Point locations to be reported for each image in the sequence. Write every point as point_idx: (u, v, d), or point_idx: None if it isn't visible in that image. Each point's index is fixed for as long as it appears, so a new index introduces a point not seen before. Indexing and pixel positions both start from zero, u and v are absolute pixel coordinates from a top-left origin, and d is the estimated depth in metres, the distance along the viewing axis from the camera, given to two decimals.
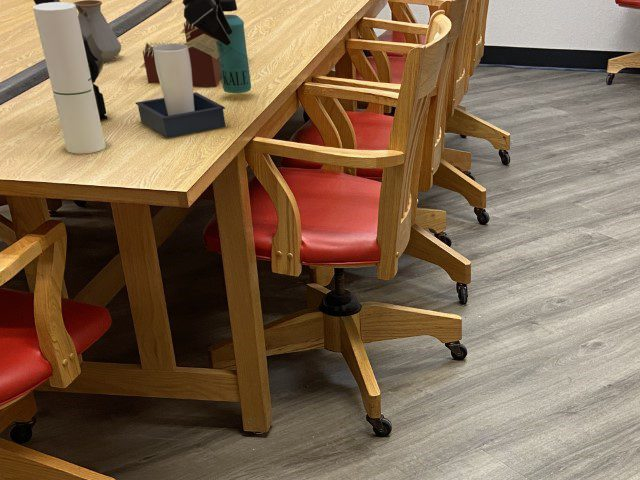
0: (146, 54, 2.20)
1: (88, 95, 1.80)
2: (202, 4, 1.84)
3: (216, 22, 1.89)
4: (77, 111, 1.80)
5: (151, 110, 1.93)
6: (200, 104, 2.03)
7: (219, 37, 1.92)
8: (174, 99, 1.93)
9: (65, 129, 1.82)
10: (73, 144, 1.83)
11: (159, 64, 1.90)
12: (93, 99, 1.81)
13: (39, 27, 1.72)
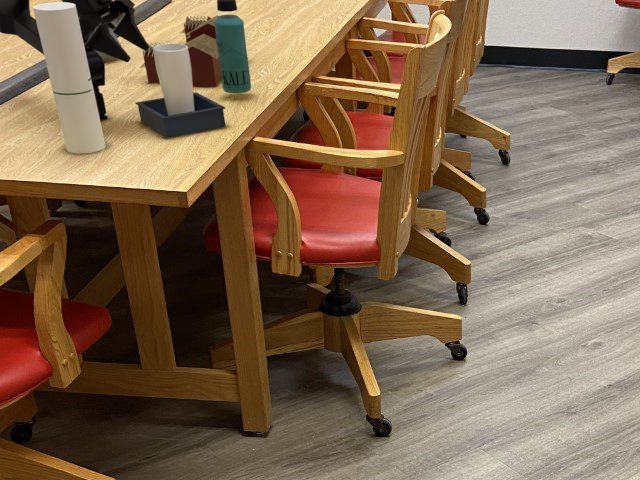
0: (146, 54, 2.20)
1: (88, 95, 1.80)
2: (83, 24, 1.81)
3: (108, 40, 1.85)
4: (77, 111, 1.80)
5: (151, 110, 1.93)
6: (200, 104, 2.03)
7: (116, 55, 1.87)
8: (174, 99, 1.93)
9: (65, 129, 1.82)
10: (73, 144, 1.83)
11: (159, 64, 1.90)
12: (93, 99, 1.81)
13: (39, 27, 1.72)
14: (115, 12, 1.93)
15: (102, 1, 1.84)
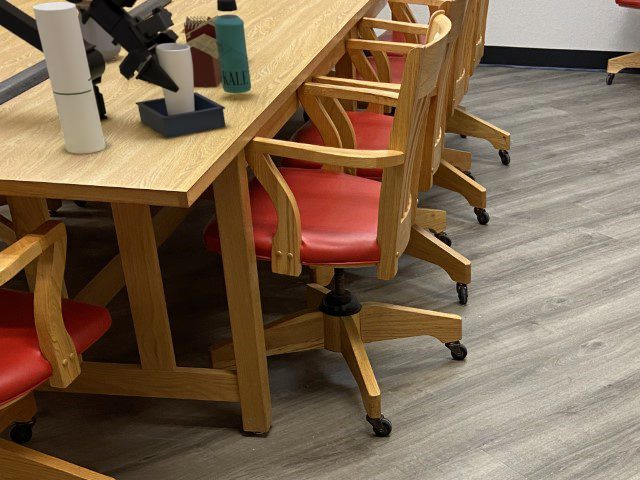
0: None
1: (88, 95, 1.80)
2: (132, 58, 1.83)
3: (158, 71, 1.89)
4: (77, 111, 1.80)
5: (151, 110, 1.93)
6: (200, 104, 2.03)
7: (166, 85, 1.91)
8: (175, 98, 1.93)
9: (65, 129, 1.82)
10: (73, 144, 1.83)
11: (161, 63, 1.90)
12: (93, 99, 1.81)
13: (39, 27, 1.72)
14: None
15: (149, 35, 1.87)
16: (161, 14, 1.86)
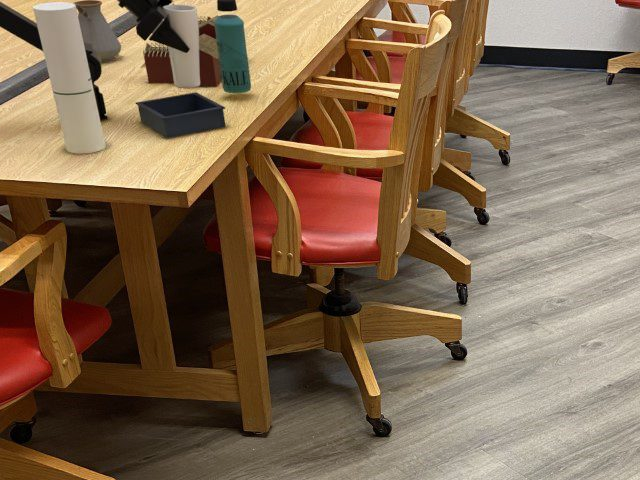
0: (147, 54, 2.20)
1: (88, 95, 1.80)
2: (151, 18, 1.86)
3: (171, 32, 1.92)
4: (77, 111, 1.80)
5: (151, 110, 1.93)
6: (200, 104, 2.03)
7: (177, 46, 1.94)
8: (184, 59, 1.96)
9: (65, 129, 1.82)
10: (73, 144, 1.83)
11: (171, 24, 1.92)
12: (93, 99, 1.81)
13: (39, 27, 1.72)
14: None
15: None
16: None
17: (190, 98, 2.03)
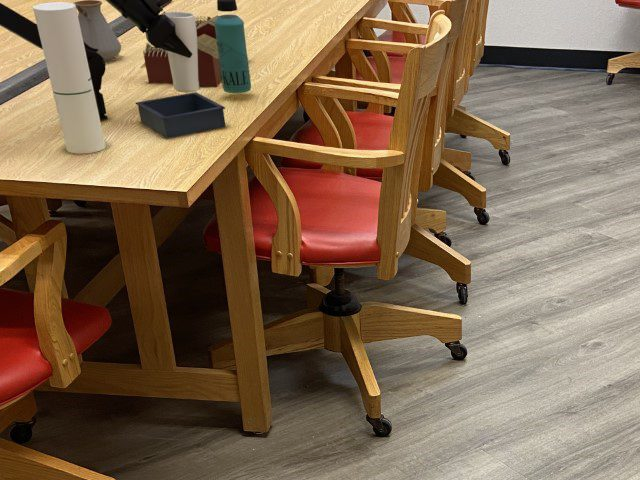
0: (147, 54, 2.20)
1: (88, 95, 1.80)
2: (163, 26, 1.93)
3: (176, 38, 1.99)
4: (77, 111, 1.80)
5: (151, 110, 1.93)
6: (200, 104, 2.03)
7: (181, 52, 2.01)
8: (187, 64, 2.04)
9: (65, 129, 1.82)
10: (73, 144, 1.83)
11: None
12: (93, 99, 1.81)
13: (39, 27, 1.72)
14: None
15: (161, 4, 1.96)
16: None
17: (190, 98, 2.03)
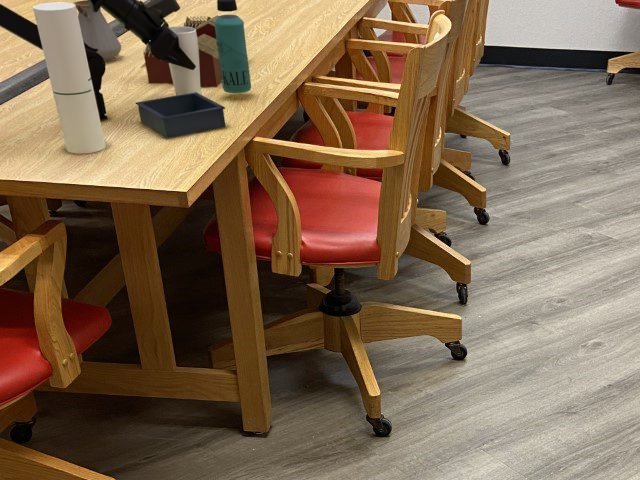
0: (147, 54, 2.20)
1: (88, 95, 1.80)
2: (166, 38, 1.94)
3: (179, 51, 1.99)
4: (77, 111, 1.80)
5: (151, 110, 1.93)
6: (200, 104, 2.03)
7: (185, 64, 2.02)
8: (189, 78, 2.06)
9: (65, 129, 1.82)
10: (73, 144, 1.83)
11: None
12: (93, 99, 1.81)
13: (39, 27, 1.72)
14: None
15: (164, 16, 1.98)
16: None
17: (190, 98, 2.03)
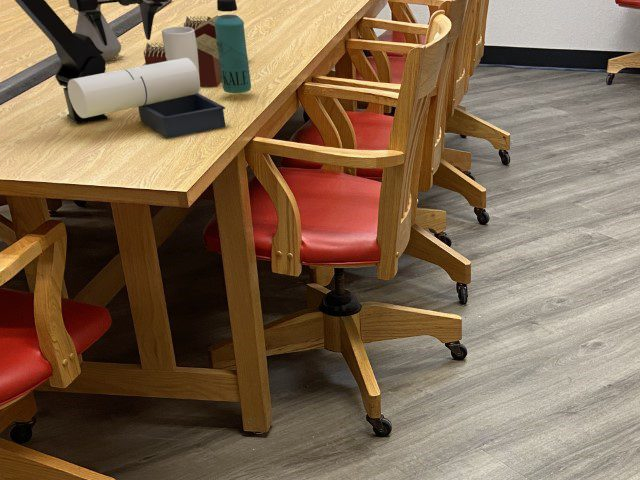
0: (147, 54, 2.20)
1: (127, 75, 1.90)
2: (74, 1, 1.90)
3: None
4: (108, 72, 1.89)
5: (151, 110, 1.93)
6: (200, 104, 2.03)
7: (98, 34, 1.97)
8: None
9: None
10: None
11: (174, 47, 2.01)
12: (125, 81, 1.89)
13: None
14: None
15: None
16: None
17: (190, 98, 2.03)
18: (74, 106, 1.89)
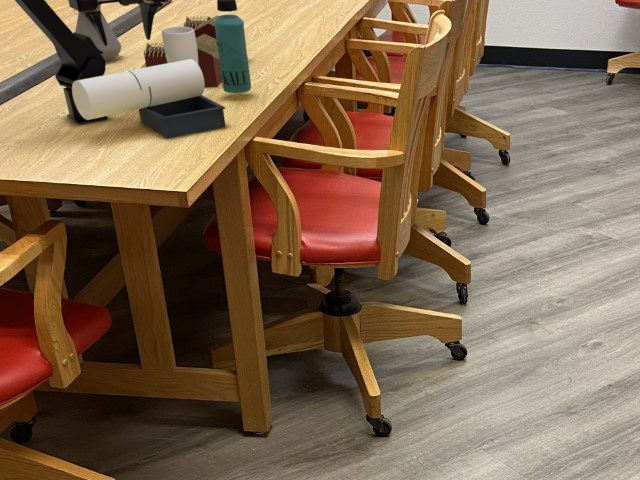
0: (147, 54, 2.20)
1: (136, 84, 1.89)
2: (74, 1, 1.90)
3: None
4: (117, 75, 1.88)
5: (151, 110, 1.93)
6: (200, 104, 2.03)
7: (98, 34, 1.97)
8: None
9: None
10: (83, 79, 1.85)
11: (174, 47, 2.01)
12: (133, 91, 1.89)
13: None
14: None
15: None
16: None
17: (190, 98, 2.03)
18: (75, 101, 1.88)
